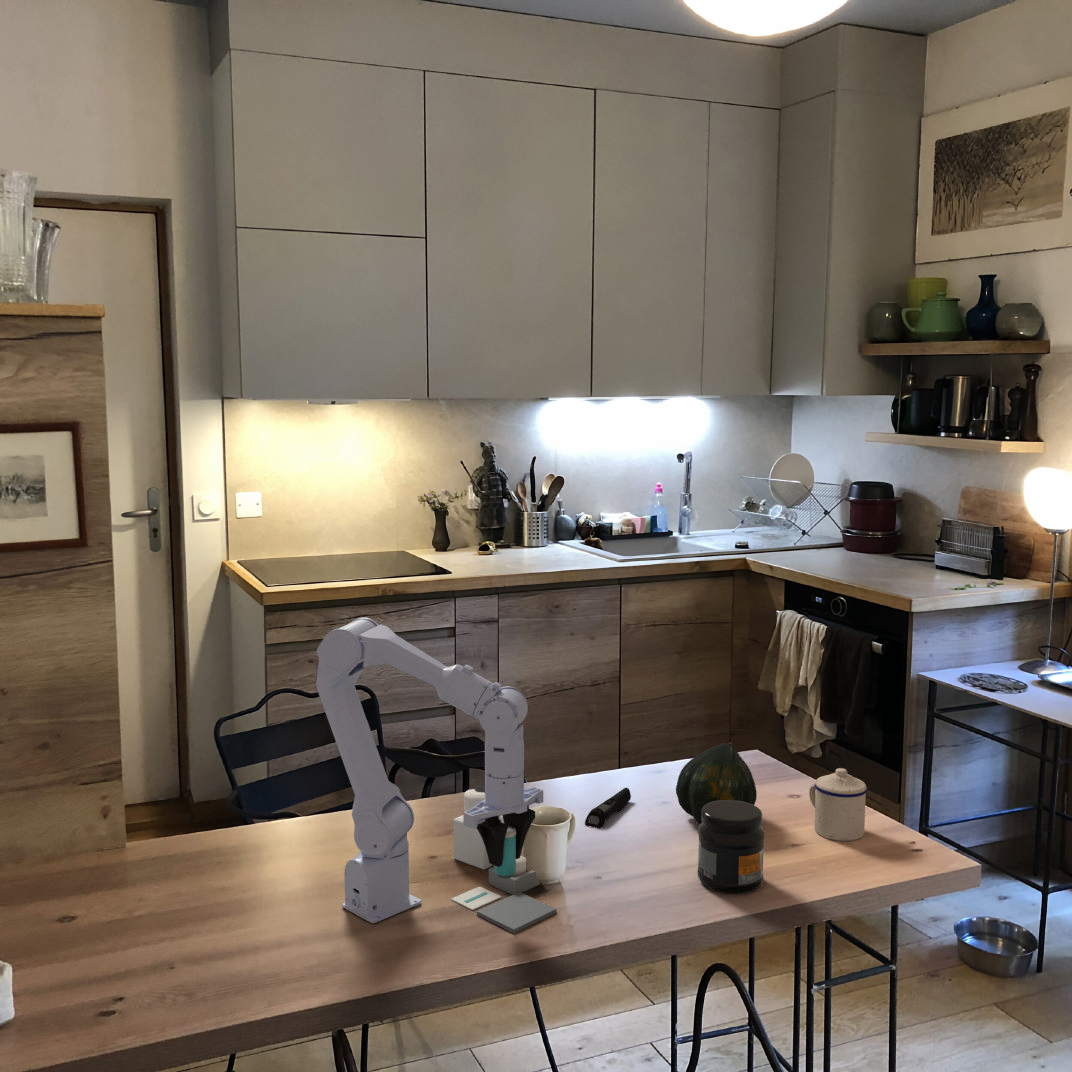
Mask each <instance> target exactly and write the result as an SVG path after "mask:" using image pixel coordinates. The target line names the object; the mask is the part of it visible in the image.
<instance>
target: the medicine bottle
mask: <svg viewBox="0 0 1072 1072" xmlns="http://www.w3.org/2000/svg"><path fill="white" fill-rule="evenodd" d="M463 797H464V798H463V801H464V802H463V804H464V805H463V807H464V809H463V810H464V811H463V813H464V812H466V811H468V810H470V809H472V808H473V807H474V806H476V805H477V804H479V803H480V802H481V801H483V800H484V799H485V785H477V786H473V787H470V788H468V789H467V790H466V791H465V792H464V794H463ZM499 820H501V823H504V820H503V816H499ZM452 823H453V827H452V829H453V832H452V833H453V859H454V860H457V861H459V862H462V863H464V864H467V865H470V866H473V867H476V868H478V869H480V870H486V869H489V868H492V866H493V867H494V865H492V864H490V863H489V859H488V855H487V852H486V848H485V845H484V842H483V840H482V837H481V835H480V833H479V831H478V830H477V828H473V829H472V828H470V827H467V826H465V825H463V814H462V815H460V816H458V817H455V818H454V819H453V822H452Z"/></svg>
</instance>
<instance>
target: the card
mask: <svg viewBox="0 0 1072 1072" xmlns="http://www.w3.org/2000/svg"><path fill="white" fill-rule="evenodd" d="M499 899H502V896H501V895H499V894H497V893H495V892H492V891H490V890H489V889H486V888H484V887H482V886H477V887H475V888H472V889H470V890H468V891H465V892H463V893H461V894H458V895H456V896H454V897H452V898H450V900H451V902H454V903H457V904H458V905H460V906H463V907H465V908H466V909H469V910H471V911H475V910H477V909H480V908H482V907H483V906H486V905H488V904H490V903H491V904H492V903H493V902H495V901H497V900H499Z"/></svg>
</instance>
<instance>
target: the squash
mask: <svg viewBox="0 0 1072 1072" xmlns="http://www.w3.org/2000/svg"><path fill="white" fill-rule="evenodd" d="M675 792H676V797H677V800H678V804H679V807H680V808H681V809H682V810H684V812H685V813H686V814H688V815H689V816H691V817H693V819H694V821H695V823H697V824H698V825H699V826H700V824H701V823H702V808H703V806H704V805H705V804H707V803H709V802H712V801H717V800H737V801H743V802H747V803H750V804H752V805H755V804H756V802H757V794H758V793H757V788H756V784H755V780H754V776H753V773H752V772H751V769H750V767H749V766H748V764H747V763H746V762H745V760H744V759H743V758H742V757H741V754H739V752H738V750H737V749H736V747H735V746H733V744H732V743H731V742H728V743H726V742H724V743H719V744H717V745H714V746H711V747H710V748H707V749H706V750H704V751H702V752H701V753H699V754H697V755H696V756H695V757H693V758H692V759H690V760H689V761H688V762H686V764H685V765H684V766H683V768H682V769H681V771H680V773H679V775H678V778H677V783H676V786H675Z"/></svg>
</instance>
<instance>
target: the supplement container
mask: <svg viewBox="0 0 1072 1072" xmlns="http://www.w3.org/2000/svg"><path fill="white" fill-rule="evenodd" d="M762 825H763V812H762V809H760V808H759V807H758V806H756V805H755V804H754V805H752V804H750V803H747V802H743V801H737V800H717V801H712V802H709V803H707V804H705V805H704V806H703V808H702V823H701V824H700V825H699V826H698V829H697V834H698V852H697V853H698V855H697V856H698V857H697V859H698V861H697V876H698V879H699V881H700V882H701V883H702V884H703V885H704V886H705V887H707V888H709V889H711V890H713V891H715V892H720V893H723V892H724V893H723V894H730V895H731V894H734V895H735V894H737V895H738V893H739V894H747V893H750V892H752V891H755V890H756V889H758V888H759V887H760V886H761V885H762V884H763V880H764V851H765V848H764V846H765V843H764V842H765V838H766V833H765V830H764V828H763V827H762Z"/></svg>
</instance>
